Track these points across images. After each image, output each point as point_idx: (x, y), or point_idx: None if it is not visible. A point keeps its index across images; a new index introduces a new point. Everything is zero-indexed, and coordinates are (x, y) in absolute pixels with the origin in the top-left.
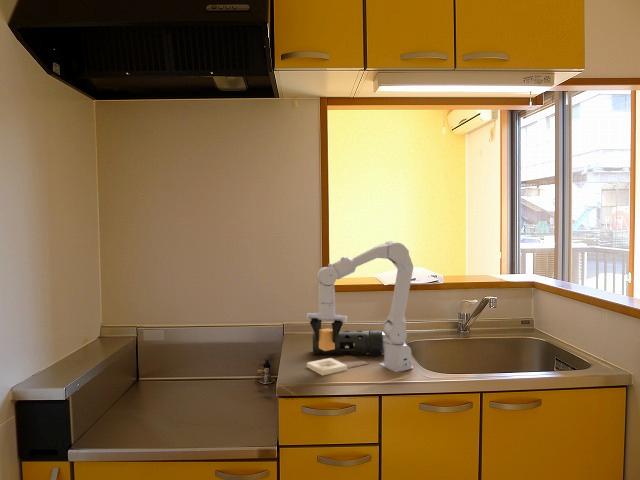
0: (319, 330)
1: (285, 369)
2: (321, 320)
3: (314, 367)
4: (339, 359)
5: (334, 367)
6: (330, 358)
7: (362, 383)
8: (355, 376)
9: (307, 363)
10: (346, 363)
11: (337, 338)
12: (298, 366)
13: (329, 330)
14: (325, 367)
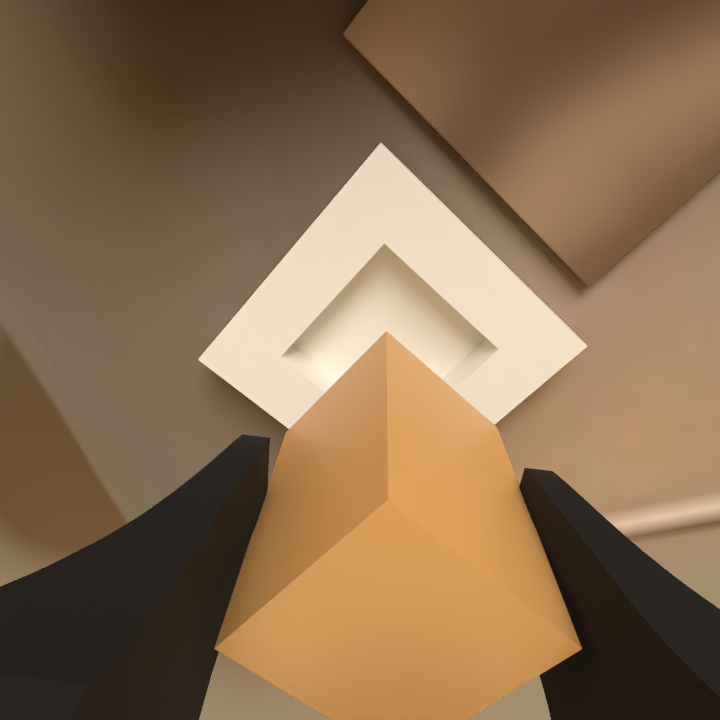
0: (242, 655)
1: (68, 406)
2: (106, 680)
3: None
4: (459, 30)
5: None
6: (381, 172)
7: (696, 530)
8: (646, 422)
9: (206, 361)
10: (556, 161)
11: (579, 498)
12: (125, 315)
13: (461, 659)
14: None
